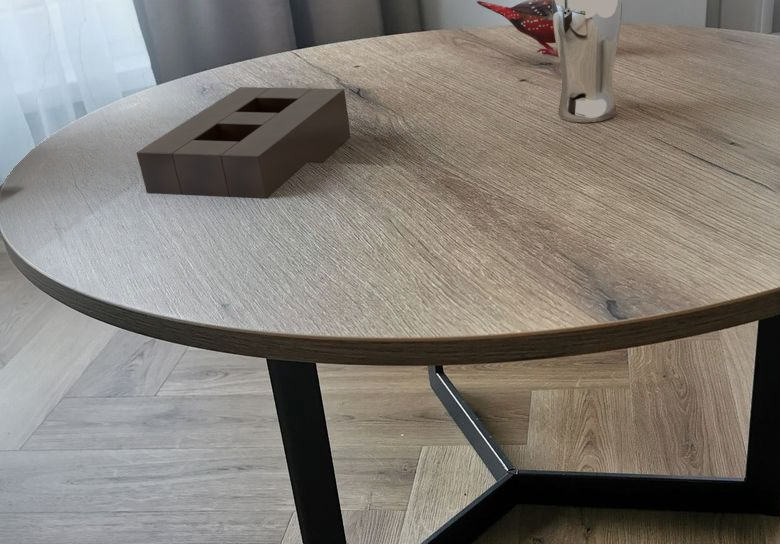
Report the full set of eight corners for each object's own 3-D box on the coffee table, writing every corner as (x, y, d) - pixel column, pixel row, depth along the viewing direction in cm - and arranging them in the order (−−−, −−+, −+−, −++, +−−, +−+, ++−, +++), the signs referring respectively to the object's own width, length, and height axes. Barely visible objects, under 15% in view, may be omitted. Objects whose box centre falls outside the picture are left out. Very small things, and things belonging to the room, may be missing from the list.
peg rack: (149, 206, 85) (135, 152, 83) (248, 133, 102) (239, 86, 99) (268, 211, 83) (258, 156, 80) (351, 136, 99) (344, 88, 97)
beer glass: (634, 115, 100) (637, -38, 93) (579, 129, 97) (578, -28, 90) (594, 100, 106) (594, -46, 98) (541, 112, 103) (537, -36, 95)
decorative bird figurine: (599, 62, 119) (599, -23, 114) (474, 52, 126) (469, -28, 121) (608, 56, 121) (608, -28, 116) (484, 47, 128) (479, -32, 123)
